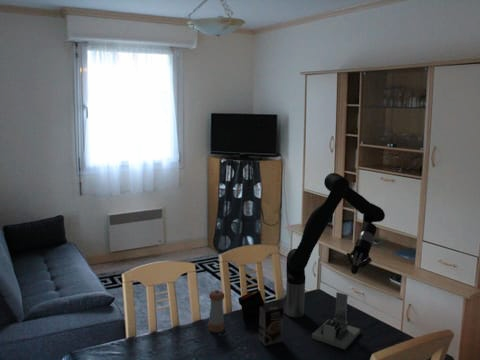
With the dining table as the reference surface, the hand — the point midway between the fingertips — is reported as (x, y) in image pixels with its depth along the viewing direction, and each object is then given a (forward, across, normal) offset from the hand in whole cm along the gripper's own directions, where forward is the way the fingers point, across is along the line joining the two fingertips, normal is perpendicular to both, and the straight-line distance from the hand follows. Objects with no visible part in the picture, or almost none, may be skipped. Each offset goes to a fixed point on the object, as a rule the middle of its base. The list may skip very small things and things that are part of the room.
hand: (353, 273), depth 228 cm
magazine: (+37, -40, -1) cm, 54 cm away
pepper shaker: (+50, -48, -14) cm, 70 cm away
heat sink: (+30, 0, +3) cm, 30 cm away
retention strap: (+22, 0, +4) cm, 22 cm away
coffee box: (+45, -22, -10) cm, 51 cm away
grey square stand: (+30, 0, +6) cm, 30 cm away
